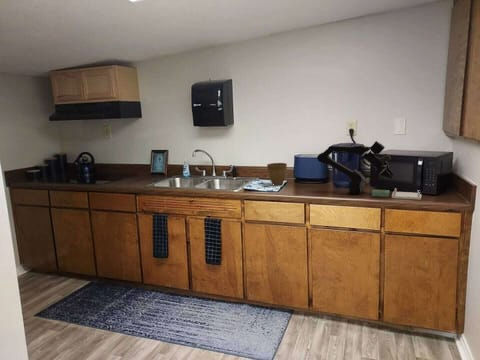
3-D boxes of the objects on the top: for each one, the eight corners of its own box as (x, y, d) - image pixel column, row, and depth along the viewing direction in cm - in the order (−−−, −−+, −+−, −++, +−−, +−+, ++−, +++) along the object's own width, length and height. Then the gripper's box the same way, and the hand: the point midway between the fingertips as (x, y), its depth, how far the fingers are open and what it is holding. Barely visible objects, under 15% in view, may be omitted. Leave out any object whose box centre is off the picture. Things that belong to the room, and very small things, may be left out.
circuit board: (371, 196, 225) (371, 191, 224) (372, 194, 230) (372, 189, 230) (388, 197, 221) (388, 192, 220) (389, 194, 226) (389, 190, 225)
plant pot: (289, 183, 274) (289, 162, 271) (283, 187, 261) (283, 165, 258) (271, 182, 281) (270, 162, 278) (264, 186, 267) (264, 165, 264)
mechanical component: (367, 193, 231) (367, 178, 229) (354, 190, 239) (354, 176, 237) (370, 192, 233) (370, 177, 231) (356, 190, 241) (357, 175, 239)
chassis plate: (391, 197, 217) (392, 192, 216) (393, 193, 227) (393, 187, 227) (421, 199, 210) (421, 193, 209) (421, 194, 220) (421, 189, 220)
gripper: (381, 152, 211) (401, 170, 208) (383, 148, 228) (403, 164, 225) (367, 165, 216) (387, 183, 213) (371, 161, 233) (390, 177, 229)
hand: (392, 176), depth 220 cm, fingers open, 9 cm apart
